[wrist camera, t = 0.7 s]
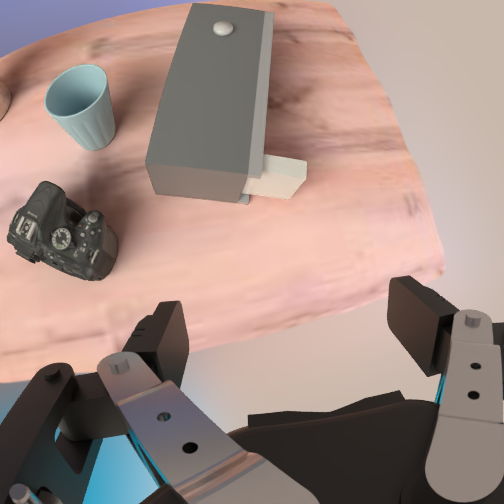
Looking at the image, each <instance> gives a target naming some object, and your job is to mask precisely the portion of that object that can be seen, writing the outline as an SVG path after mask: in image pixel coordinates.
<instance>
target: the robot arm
mask: <svg viewBox="0 0 504 504" xmlns="http://www.w3.org/2000/svg"><path fill="white" fill-rule="evenodd" d="M10 102H11V93H10V91H9V89H8V88H7V86H6V85H5V84H4V82H3V81H2V79H1V78H0V120H1V119H2V118H3V116H4V115H5V113H6V111H7V110H8V108H9V105H10ZM387 321H388V326H389V328H390V330H391V331H392V333H393V334H394V335H395V336H396V338H397V339H398V340H399V341H400V342H401V344H402V345H403V346H404V348H405V349H406V350H407V351H408V353H409V354H410V355H411V356H412V358H413V359H414V360H415V362H416V363H417V364H418V366H419V367H420V368H421V370H422V371H423V372H424V373H425V375H426V376H427V377H430V376H433V375H436V374H440V373H441V378H440V381H439V385H438V390H437V394H436V398H435V402H430V401H425V400H412V399H410V400H409V399H408V400H405V398H404V397H403V395H402V394H401V392H400V390H398V391H395V392H390V393H386V394H382V395H377V396H373V397H368V398H364V399H362V400H360V401H358V402H355V403H353V404H350V405H347V406H345V407H343V408H340V409H337V410H335V411H331V412H298V411H283V412H274V413H265V414H254V415H248V426H246V427H242V428H239V429H237V430H234V431H232V432H229V433H227V434H226V433H225V432H223V431H222V430H221V429H220V428H219V427H218V426H217V425H216V424H215V423H214V422H213V421H212V420H210V419H209V418H208V417H207V416H206V415H205V414H204V413H203V412H202V411H201V410H200V409H199V408H198V407H197V406H196V405H195V404H194V403H193V402H192V401H191V400H190V399H189V398H188V397H187V396H186V395H185V394H184V393H183V392H182V391H181V390H180V386H181V382H182V378H183V374H184V370H185V366H186V362H187V358H188V355H189V339H188V334H187V329H186V324H185V319H184V314H183V309H182V305H181V302H180V301H167V302H160V303H159V304H158V306H157V308H156V310H155V312H154V313H153V315H147V316H146V317H145V318H143V319H142V320H141V321H139V322H138V324H137V326H136V327H135V331H133V333H132V334H131V337H130V338H129V339H128V341H127V343H126V345H125V346H124V348H123V350H122V352H118V353H114V354H111V355H109V356H107V357H105V358H104V359H102V360H101V361H100V362H99V364H98V366H97V372H95V373H89V374H84V375H78V376H75V373H74V371H73V369H72V367H71V366H70V365H69V364H67V363H53V364H50V365H47V366H45V367H43V368H42V369H40V370H39V371H38V372H37V373H36V374H35V376H34V377H33V378H32V380H31V381H30V383H29V384H28V386H27V387H26V388H25V389H24V391H23V392H22V394H21V395H20V397H19V398H18V399H17V401H16V402H15V404H14V405H13V407H12V408H11V410H10V411H9V413H8V414H7V416H6V417H5V419H4V420H3V422H2V423H1V425H0V504H82V503H83V500H84V497H85V493H86V490H87V486H88V484H89V480H90V477H91V474H92V471H93V468H94V465H95V461H96V459H97V455H98V452H99V449H100V446H101V444H102V441H103V438H107V437H113V436H119V435H126V437H127V439H128V441H129V442H130V444H131V446H132V447H133V449H134V450H135V452H136V453H137V455H138V457H139V458H140V460H141V461H142V463H143V464H144V466H145V467H146V469H147V470H148V472H149V473H150V475H151V477H152V478H153V480H154V481H155V483H156V485H157V486H158V489H157V490H156V491H155V492H154V493H152V494H151V495H150V496H148V497H147V498H146V499H145V500H143V502H141V503H139V504H504V423H503V418H502V417H503V400H504V323H492V321H491V318H490V317H489V316H488V315H487V314H485V313H483V312H480V311H477V310H461V311H460V310H459V309H457V308H456V307H455V306H454V305H452V304H451V303H450V302H448V301H447V300H445V298H443V297H442V296H440V295H439V294H438V293H437V292H435V291H434V290H432V289H430V288H428V287H425V286H423V285H422V284H420V283H419V282H418V281H416V280H415V279H414V278H413V277H411V276H409V275H408V276H402V277H395V278H392V279H391V280H390V284H389V297H388V310H387ZM57 427H59V428H60V430H61V432H60V434H59V436H58V438H57V440H56V442H55V432H56V429H57Z"/></svg>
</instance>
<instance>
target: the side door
mask: <svg viewBox="0 0 504 504" xmlns="http://www.w3.org/2000/svg"><path fill="white" fill-rule="evenodd" d="M306 174H307V161H303V160H297V159H291V158H286V157H280V156H273V155H267V154H263V164H262V176H261V178H260V179H256V178H248V177H247V179H246V181H245V184H244V187H243V189H242V193H244V194H252V195H259V196H266V197H274V198H281V199H287V200H289V199H290V197H291V196H292V195H293V194H294V193H295V191H296V190H297V189H298V188H299V187H300V185H301V184H302V183H303V182H304V181H305V180H306Z"/></svg>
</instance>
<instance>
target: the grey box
mask: <svg viewBox="0 0 504 504" xmlns="http://www.w3.org/2000/svg"><path fill="white" fill-rule="evenodd" d="M273 25H274V13H271V12H265V11H259V10H253V9H246V8H239V7H231V6H223V5H213V4H200V3H193V4H192V7H191V9H190V12H189V14H188V17H187V20H186V22H185V25H184V28H183V31H182V34H181V36H180V39H179V42H178V45H177V48H176V51H175V54H174V57H173V60H172V63H171V67H170V70H169V73H168V76H167V80H166V83H165V86H164V90H163V93H162V97H161V100H160V104H159V108H158V111H157V115H156V119H155V123H154V127H153V131H152V135H151V139H150V143H149V147H148V152H147V156H146V160H145V165H146V168H147V171H148V174H149V177H150V179H151V182H152V185H153V188H154V191H155V193H156V194H158V195H168V196H178V197H187V198H196V199H205V200H214V201H222V202H231V203H239V204H247V205H248V203H249V194H244V193H242V189H243V187H244V184H245V181H246V179H247V177H248V178H256V179H260V178H261V176H262V164H263V152H264V139H265V127H266V114H267V101H268V89H269V76H270V63H271V50H272V37H273Z"/></svg>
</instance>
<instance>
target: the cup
mask: <svg viewBox="0 0 504 504" xmlns="http://www.w3.org/2000/svg"><path fill="white" fill-rule="evenodd" d="M44 105H45V109H46V111H47V112H48V113H49V114H50V115H51V116H52V117H53V118H54V119H55V120H56V121H57V122H58V123H59V124H60V126H61V127H62V128H63V129H64V130H65V131H66V132H67V133H68V134H69V135H70V136H71V137H72V138H73V139H74V140H75V141H76V142H77V143H78V144H79V145H80V146H81V147H83V148H84V149H86V150H89V151H96V150H99V149H102V148H104V147H105V146H107V145H108V144H109V143H110V142H111V141H112V139H113V137H114V135H115V129H116V127H115V121H114V115H113V110H112V104H111V99H110V93H109V87H108V80H107V75H106V73H105V71H104V70H103V69H102V68H100V67H99V66H96V65H93V64H83V65H78V66H75V67H72V68H70V69H68V70H66V71H64V72H63V73H61V74H60V75H59V76H58V77H57V78H56V79H55V80H54V81H53V82H52V83H51V85H50V86H49V88H48V90H47V92H46V94H45V98H44Z"/></svg>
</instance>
